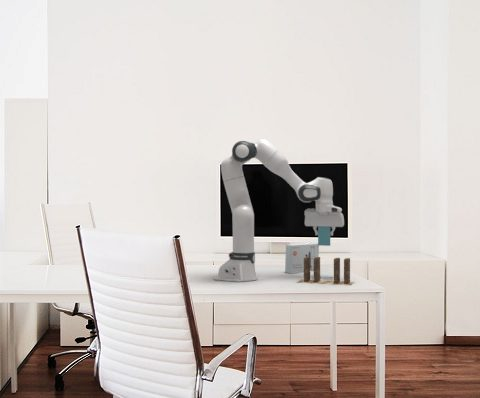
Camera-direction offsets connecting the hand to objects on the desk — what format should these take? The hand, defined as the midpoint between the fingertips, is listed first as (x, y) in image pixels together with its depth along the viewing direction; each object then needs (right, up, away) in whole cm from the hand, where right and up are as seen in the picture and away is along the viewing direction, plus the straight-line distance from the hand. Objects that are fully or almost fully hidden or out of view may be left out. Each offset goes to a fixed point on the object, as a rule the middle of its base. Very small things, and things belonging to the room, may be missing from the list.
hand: (324, 235), depth 329 cm
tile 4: (-5, -22, -11) cm, 26 cm away
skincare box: (-8, -23, +31) cm, 39 cm away
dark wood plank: (-10, -22, -10) cm, 26 cm away
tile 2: (+4, -23, -15) cm, 27 cm away
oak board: (-1, -23, -13) cm, 27 cm away
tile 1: (+9, -23, -16) cm, 29 cm away
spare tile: (0, -5, 0) cm, 5 cm away
